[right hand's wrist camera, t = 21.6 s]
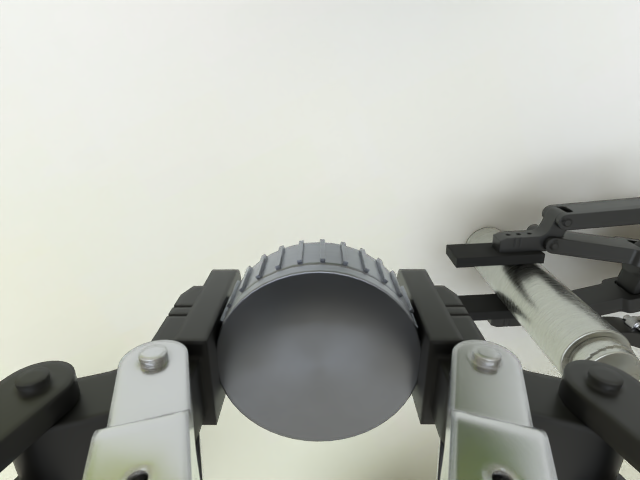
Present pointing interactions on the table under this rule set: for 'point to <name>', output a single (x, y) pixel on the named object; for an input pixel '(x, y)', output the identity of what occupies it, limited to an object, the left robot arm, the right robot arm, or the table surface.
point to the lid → (318, 343)
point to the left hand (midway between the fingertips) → (450, 283)
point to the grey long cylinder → (556, 315)
